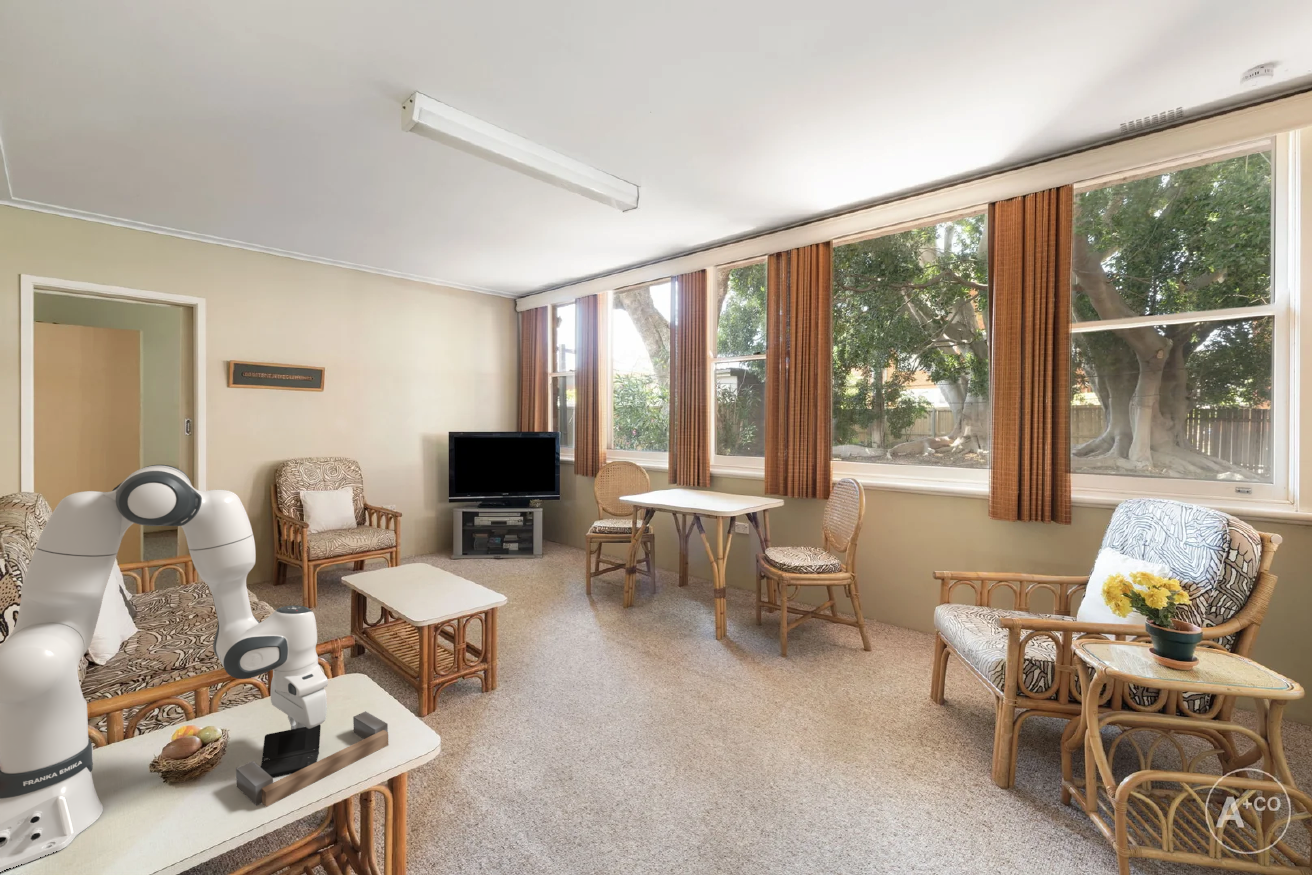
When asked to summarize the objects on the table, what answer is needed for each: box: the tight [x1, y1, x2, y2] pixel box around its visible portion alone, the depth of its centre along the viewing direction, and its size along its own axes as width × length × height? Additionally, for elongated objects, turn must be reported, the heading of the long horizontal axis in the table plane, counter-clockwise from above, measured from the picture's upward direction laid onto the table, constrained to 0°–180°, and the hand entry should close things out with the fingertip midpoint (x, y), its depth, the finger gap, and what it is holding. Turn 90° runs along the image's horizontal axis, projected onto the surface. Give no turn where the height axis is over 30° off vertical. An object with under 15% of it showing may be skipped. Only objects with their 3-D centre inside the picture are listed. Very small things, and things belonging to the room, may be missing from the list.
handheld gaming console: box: [260, 724, 322, 779], centre depth 123 cm, size 12×7×10 cm
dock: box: [235, 711, 389, 807], centre depth 122 cm, size 27×12×4 cm, turn 146°
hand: (298, 733), depth 129 cm, fingers closed
